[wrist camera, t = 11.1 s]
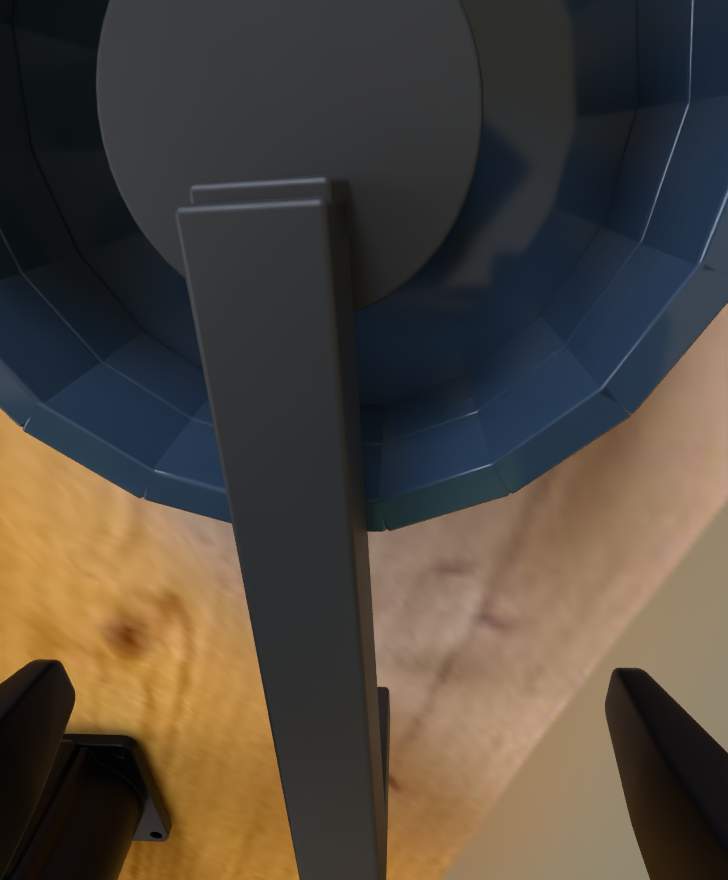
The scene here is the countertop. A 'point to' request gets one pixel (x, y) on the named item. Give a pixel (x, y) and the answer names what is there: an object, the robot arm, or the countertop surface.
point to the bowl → (421, 299)
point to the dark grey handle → (297, 317)
